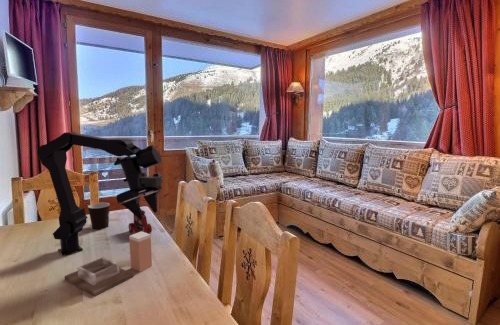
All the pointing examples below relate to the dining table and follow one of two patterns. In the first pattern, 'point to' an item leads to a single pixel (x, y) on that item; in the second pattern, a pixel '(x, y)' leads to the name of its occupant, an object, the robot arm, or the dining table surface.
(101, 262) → the square socket base
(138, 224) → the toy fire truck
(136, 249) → the tan box white top
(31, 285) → the dining table surface
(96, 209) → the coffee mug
